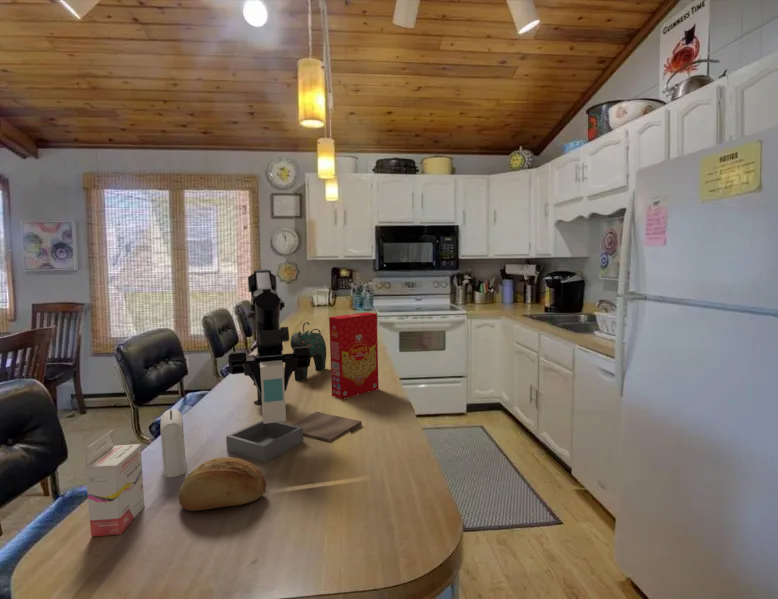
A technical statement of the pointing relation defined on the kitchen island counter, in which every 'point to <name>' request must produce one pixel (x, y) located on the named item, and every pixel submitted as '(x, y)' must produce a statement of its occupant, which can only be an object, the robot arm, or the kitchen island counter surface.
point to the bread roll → (221, 484)
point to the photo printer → (173, 443)
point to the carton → (273, 391)
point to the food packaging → (353, 354)
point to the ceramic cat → (316, 347)
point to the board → (326, 426)
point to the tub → (264, 440)
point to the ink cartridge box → (113, 485)
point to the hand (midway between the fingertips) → (273, 391)
